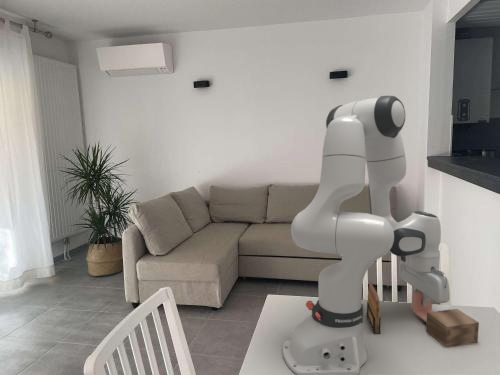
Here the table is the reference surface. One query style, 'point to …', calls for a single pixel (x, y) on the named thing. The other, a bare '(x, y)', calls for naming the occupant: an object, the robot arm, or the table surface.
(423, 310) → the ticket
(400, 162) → the robot arm
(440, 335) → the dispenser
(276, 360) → the table surface
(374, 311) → the brown flat panel
